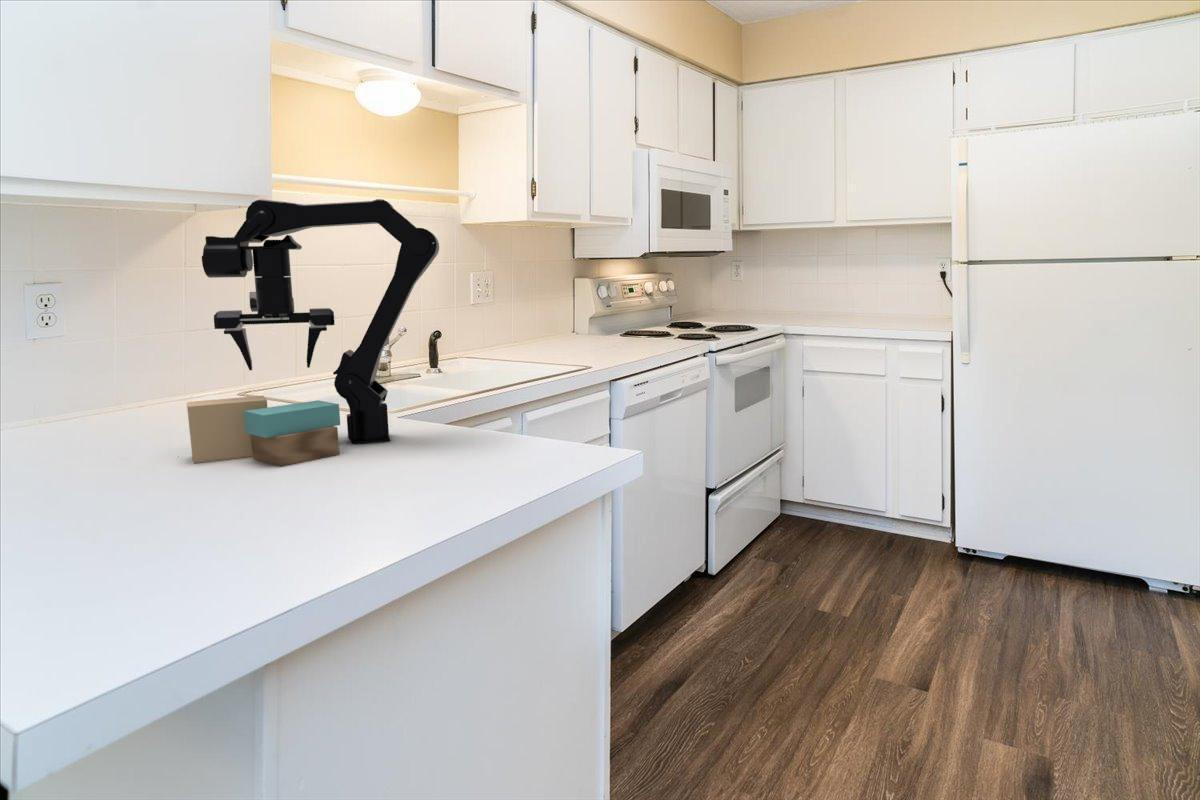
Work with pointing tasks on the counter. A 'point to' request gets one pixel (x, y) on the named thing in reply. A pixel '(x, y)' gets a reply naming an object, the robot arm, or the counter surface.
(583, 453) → the counter surface
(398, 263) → the robot arm
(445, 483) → the counter surface
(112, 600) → the counter surface
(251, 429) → the lid
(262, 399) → the box
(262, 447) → the walnut block
